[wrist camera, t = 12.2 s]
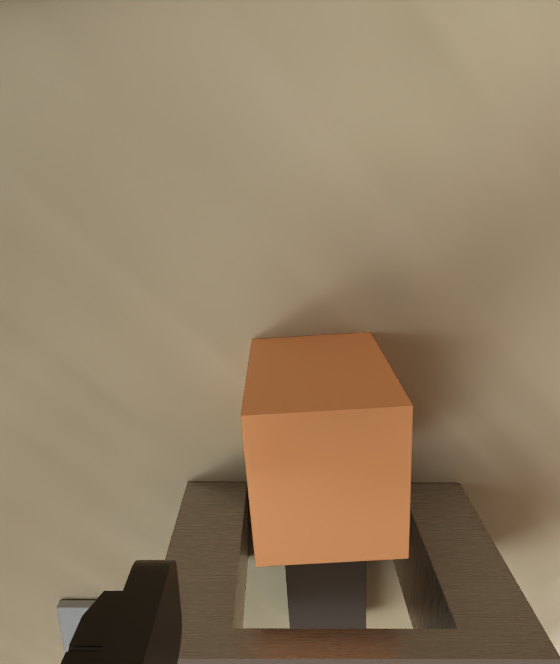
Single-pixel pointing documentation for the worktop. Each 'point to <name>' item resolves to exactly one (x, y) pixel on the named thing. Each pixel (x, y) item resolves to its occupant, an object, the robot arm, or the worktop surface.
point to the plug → (326, 469)
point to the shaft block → (358, 644)
